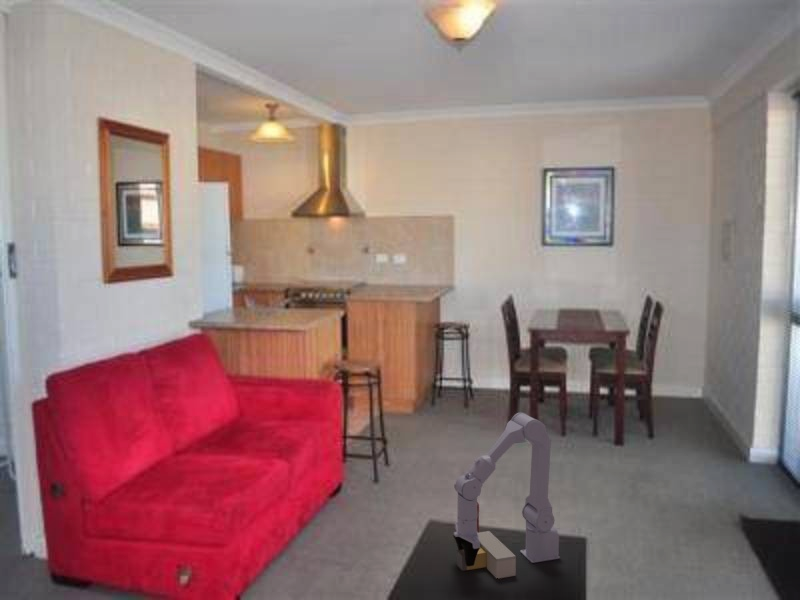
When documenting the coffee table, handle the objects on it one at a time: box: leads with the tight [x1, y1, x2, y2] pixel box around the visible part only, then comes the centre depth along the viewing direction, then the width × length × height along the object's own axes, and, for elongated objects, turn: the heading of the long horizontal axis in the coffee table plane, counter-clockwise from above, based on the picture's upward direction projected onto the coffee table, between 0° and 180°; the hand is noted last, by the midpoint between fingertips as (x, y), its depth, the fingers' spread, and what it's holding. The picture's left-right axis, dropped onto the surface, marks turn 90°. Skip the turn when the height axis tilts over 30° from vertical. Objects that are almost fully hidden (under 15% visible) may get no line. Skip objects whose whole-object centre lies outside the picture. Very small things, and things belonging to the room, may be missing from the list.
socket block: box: [478, 530, 517, 579], centre depth 209 cm, size 6×18×6 cm, turn 18°
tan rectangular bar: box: [456, 547, 487, 572], centre depth 207 cm, size 12×4×4 cm, turn 108°
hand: (467, 561), depth 207 cm, fingers closed on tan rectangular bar, 4 cm apart
